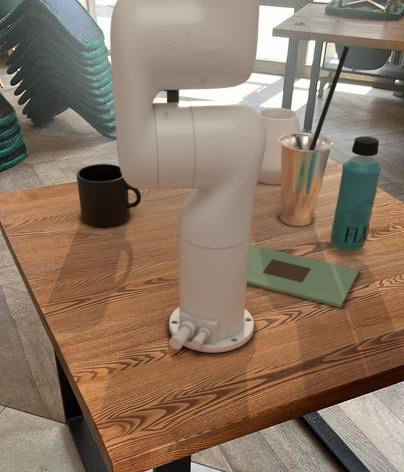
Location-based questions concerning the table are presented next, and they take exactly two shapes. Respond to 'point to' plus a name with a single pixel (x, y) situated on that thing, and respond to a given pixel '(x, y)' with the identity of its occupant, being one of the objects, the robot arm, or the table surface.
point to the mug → (104, 195)
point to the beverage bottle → (356, 196)
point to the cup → (275, 141)
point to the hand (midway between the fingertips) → (172, 88)
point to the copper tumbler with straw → (305, 166)
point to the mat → (299, 276)
